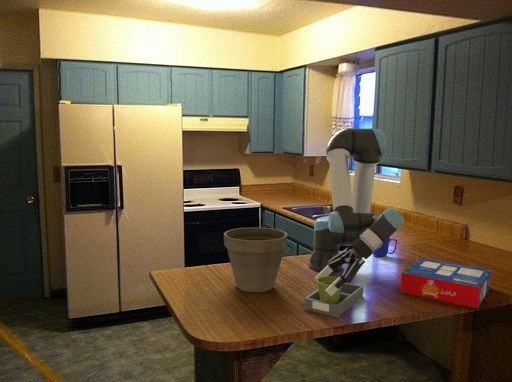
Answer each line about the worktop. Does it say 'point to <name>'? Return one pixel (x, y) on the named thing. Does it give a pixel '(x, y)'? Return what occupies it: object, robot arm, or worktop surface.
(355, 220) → the robot arm
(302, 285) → the worktop surface
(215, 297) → the worktop surface
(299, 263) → the worktop surface
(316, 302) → the tray
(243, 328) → the worktop surface
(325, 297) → the plant pot
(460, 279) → the pasta box
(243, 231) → the plant pot
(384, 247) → the mug
